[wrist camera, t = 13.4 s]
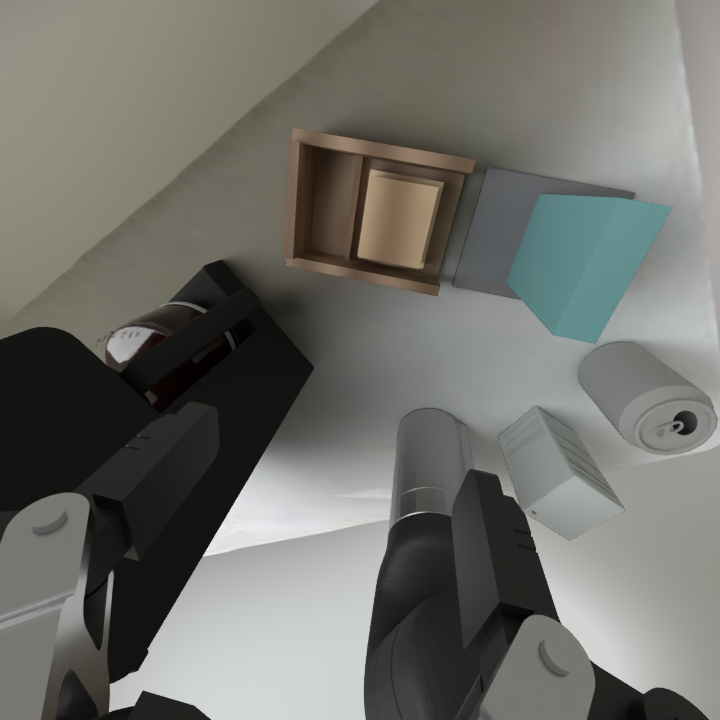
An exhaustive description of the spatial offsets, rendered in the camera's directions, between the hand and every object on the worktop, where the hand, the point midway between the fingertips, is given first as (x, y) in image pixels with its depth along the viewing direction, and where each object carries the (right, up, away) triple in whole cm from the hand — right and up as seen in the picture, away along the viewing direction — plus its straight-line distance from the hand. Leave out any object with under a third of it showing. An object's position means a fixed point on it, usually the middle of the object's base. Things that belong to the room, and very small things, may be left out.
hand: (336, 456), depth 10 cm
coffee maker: (-19, +4, +38) cm, 43 cm away
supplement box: (+25, -7, +36) cm, 45 cm away
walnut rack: (+3, +19, +26) cm, 32 cm away
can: (+31, +2, +30) cm, 43 cm away
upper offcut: (+5, +17, +22) cm, 28 cm away
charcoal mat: (+19, +16, +25) cm, 35 cm away
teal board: (+19, +15, +24) cm, 35 cm away
